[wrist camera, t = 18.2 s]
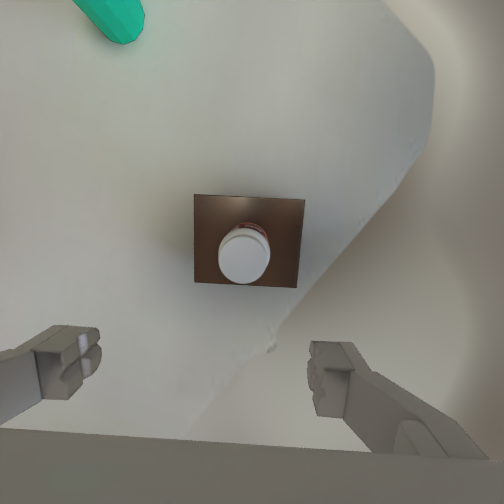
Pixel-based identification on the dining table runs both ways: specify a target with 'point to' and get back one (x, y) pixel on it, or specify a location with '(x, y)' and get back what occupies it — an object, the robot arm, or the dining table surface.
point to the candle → (115, 17)
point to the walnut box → (257, 212)
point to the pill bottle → (244, 253)
